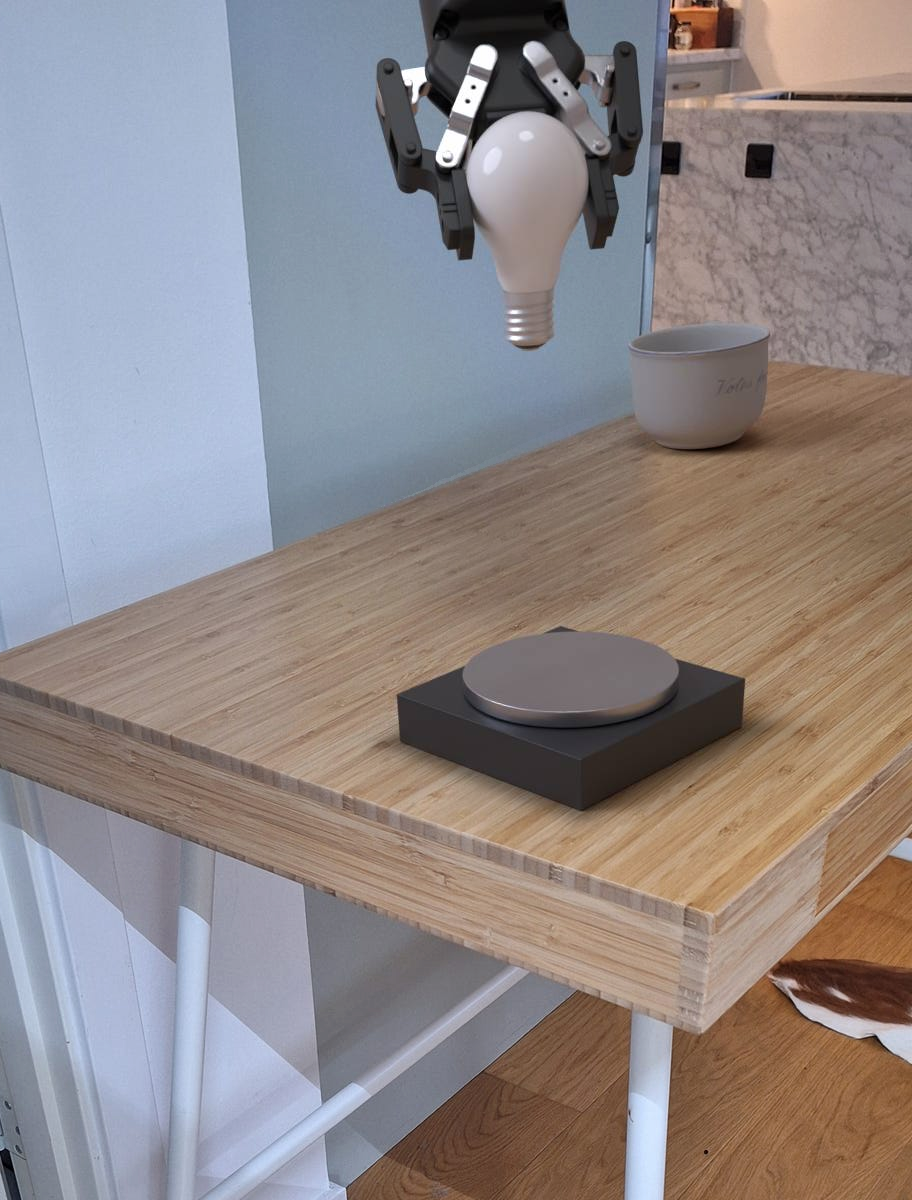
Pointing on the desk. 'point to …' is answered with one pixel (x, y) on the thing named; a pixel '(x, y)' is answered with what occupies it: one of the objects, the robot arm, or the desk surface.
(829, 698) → the desk surface
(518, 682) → the scale pan
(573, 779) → the scale
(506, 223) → the lightbulb
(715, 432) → the teacup
